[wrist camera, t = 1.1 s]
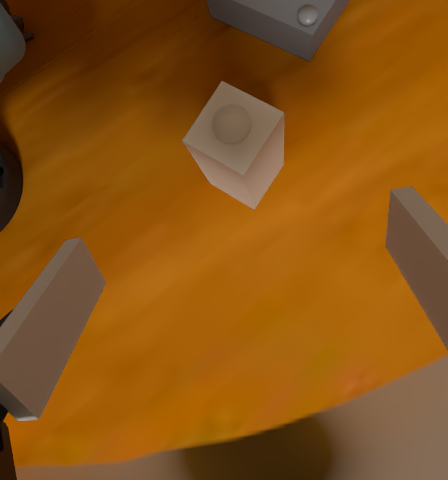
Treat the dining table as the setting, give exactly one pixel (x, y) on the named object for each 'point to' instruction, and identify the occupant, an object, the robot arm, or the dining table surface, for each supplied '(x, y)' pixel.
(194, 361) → the dining table surface
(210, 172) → the tower brick
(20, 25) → the dark figurine
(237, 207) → the dining table surface
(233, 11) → the base plate
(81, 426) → the dining table surface
